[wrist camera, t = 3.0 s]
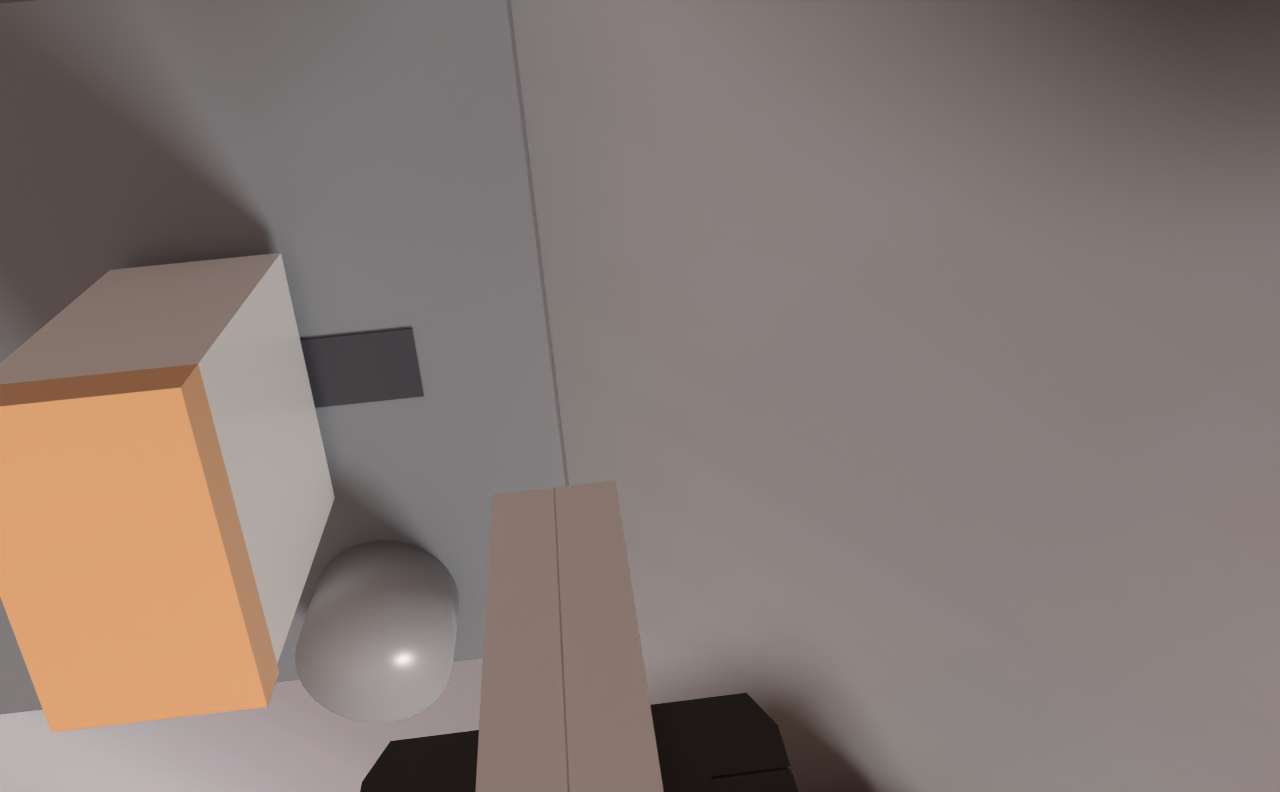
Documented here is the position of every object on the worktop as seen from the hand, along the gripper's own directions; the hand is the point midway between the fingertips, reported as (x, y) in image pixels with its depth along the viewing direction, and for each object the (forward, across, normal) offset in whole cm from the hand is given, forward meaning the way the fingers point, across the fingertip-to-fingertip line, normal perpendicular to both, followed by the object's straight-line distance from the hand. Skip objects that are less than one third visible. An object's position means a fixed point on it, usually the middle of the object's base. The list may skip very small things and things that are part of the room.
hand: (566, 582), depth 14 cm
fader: (+8, +6, 0) cm, 10 cm away
